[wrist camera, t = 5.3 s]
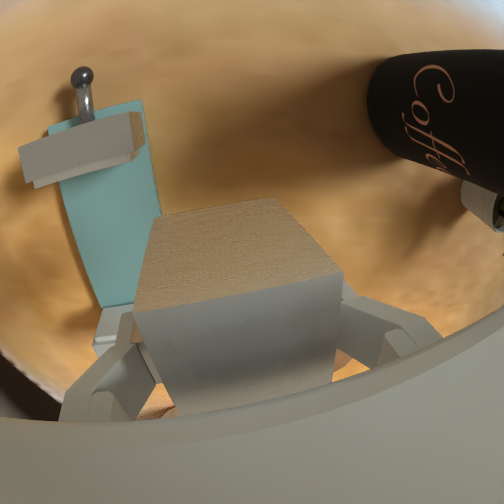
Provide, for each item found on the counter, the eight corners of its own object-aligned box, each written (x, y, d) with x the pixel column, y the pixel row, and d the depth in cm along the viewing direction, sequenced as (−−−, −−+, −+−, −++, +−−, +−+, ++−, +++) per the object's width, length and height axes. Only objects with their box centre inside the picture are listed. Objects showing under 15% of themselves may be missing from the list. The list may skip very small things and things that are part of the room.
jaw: (41, 84, 16) (9, 81, 12) (134, 54, 17) (120, 39, 13) (56, 175, 20) (28, 192, 15) (147, 151, 21) (136, 161, 16)
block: (154, 217, 9) (131, 313, 5) (274, 196, 10) (343, 271, 6) (191, 350, 12) (202, 453, 8) (282, 331, 13) (323, 426, 8)
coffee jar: (348, 59, 22) (529, 43, 6) (429, 55, 22) (578, 64, 6) (372, 167, 27) (530, 247, 11) (444, 147, 27) (579, 201, 11)
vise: (53, 126, 19) (17, 133, 14) (142, 100, 20) (127, 95, 15) (113, 322, 28) (103, 365, 23) (186, 310, 29) (188, 354, 24)
